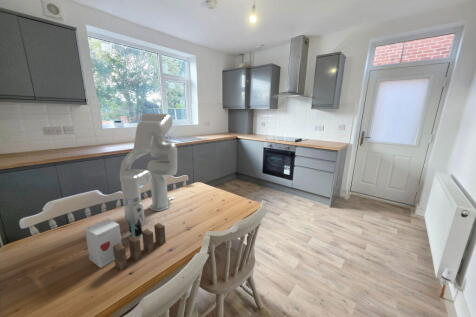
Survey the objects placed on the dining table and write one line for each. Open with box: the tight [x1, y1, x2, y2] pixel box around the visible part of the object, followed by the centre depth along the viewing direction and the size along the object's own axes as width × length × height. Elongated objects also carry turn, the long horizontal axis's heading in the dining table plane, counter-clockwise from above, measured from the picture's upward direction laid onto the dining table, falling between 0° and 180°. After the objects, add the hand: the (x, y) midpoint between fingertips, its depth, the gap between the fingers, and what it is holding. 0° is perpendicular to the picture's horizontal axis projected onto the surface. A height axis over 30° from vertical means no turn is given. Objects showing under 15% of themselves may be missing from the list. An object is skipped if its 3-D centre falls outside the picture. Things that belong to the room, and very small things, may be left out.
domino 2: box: [129, 221, 142, 239], centre depth 94 cm, size 2×4×9 cm, turn 57°
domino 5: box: [153, 222, 166, 246], centre depth 90 cm, size 2×4×9 cm, turn 57°
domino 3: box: [127, 235, 142, 262], centre depth 80 cm, size 2×4×9 cm, turn 57°
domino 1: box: [113, 243, 128, 272], centre depth 76 cm, size 2×4×9 cm, turn 57°
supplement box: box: [84, 218, 122, 269], centre depth 79 cm, size 9×9×15 cm
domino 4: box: [141, 228, 155, 254], centre depth 85 cm, size 2×4×9 cm, turn 57°
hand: (135, 233), depth 95 cm, fingers closed on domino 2, 4 cm apart
